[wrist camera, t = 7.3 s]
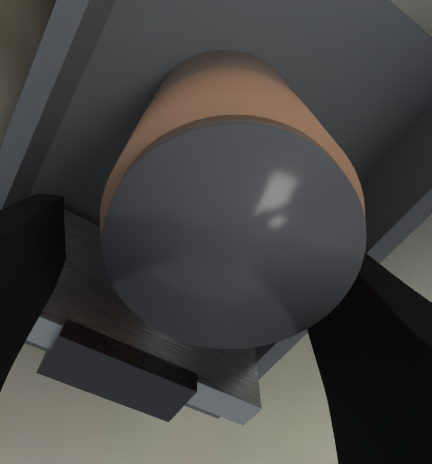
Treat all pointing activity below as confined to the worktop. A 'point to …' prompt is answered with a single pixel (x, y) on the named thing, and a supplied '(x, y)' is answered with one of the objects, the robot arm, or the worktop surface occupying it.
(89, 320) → the pusher plate
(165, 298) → the jar
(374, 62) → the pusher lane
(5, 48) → the worktop surface
